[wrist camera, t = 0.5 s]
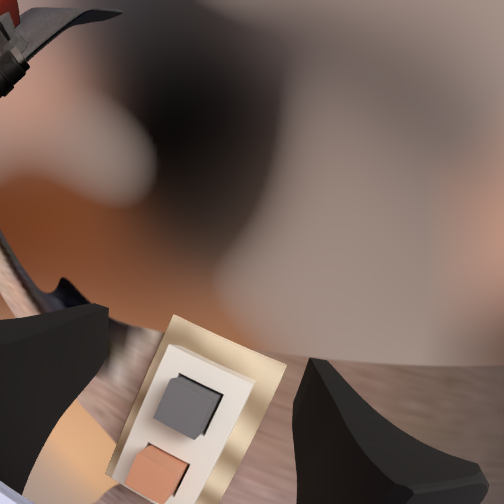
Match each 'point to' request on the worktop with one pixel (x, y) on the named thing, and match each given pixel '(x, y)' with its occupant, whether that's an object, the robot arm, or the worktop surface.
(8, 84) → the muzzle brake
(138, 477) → the terracotta plunger
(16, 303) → the worktop surface
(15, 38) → the coffeepot
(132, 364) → the worktop surface
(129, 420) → the birch board
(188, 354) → the plunger panel
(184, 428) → the grey cube
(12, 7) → the plant pot
